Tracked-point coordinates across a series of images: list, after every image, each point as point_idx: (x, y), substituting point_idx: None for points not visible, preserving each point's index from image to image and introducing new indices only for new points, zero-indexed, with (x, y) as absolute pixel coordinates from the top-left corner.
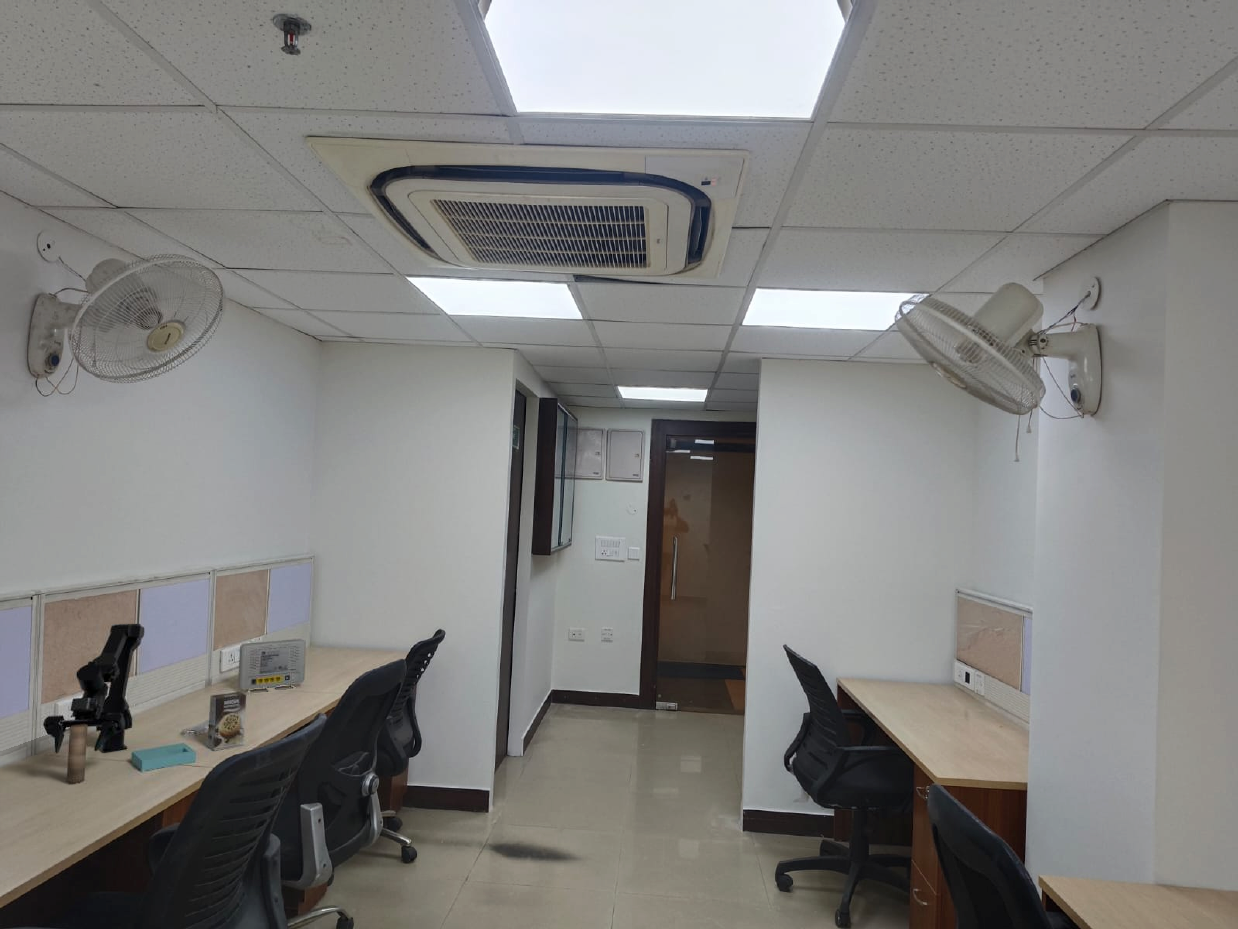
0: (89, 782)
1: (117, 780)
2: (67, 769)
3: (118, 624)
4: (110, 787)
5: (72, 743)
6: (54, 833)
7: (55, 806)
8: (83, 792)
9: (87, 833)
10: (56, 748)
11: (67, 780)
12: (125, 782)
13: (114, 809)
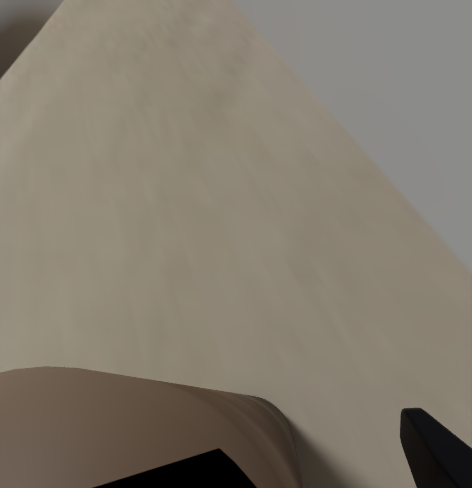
0: None
1: None
2: (285, 423)
3: None
4: (68, 316)
5: (221, 392)
6: (144, 11)
7: (206, 141)
8: (159, 265)
9: (82, 13)
10: (431, 429)
11: (277, 409)
12: None
13: (40, 115)
